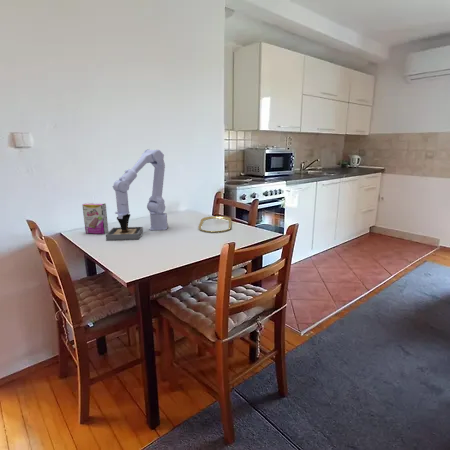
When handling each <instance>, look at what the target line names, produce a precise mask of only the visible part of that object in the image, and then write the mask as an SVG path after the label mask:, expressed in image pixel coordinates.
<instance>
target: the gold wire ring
mask: <svg viewBox="0 0 450 450" xmlns="http://www.w3.org/2000/svg"><path fill="white" fill-rule="evenodd" d="M211 219H213V220H215V219H218V220H219V219H222V220H227V221H228V228H227V229H223V230H205V229H202V228H201V226H202V227H203V225H204V222H205V221H208V220H211ZM204 220H205V221H204ZM203 221H204V222H203ZM202 224H203V225H202ZM197 228H198V230H199V231H200V232H203V231H204V233H211V234H215V233H216V234H217V233H218V232H219V233H224V231H225V232H228V231H229V230H231V229H232V218H230V217H228V216H222V215H221V216H219V215H215V216H206V217H203V218H201V220H200V222H199V224H198V227H197Z"/></svg>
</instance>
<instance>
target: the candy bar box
mask: <svg viewBox="0 0 450 450" xmlns="http://www.w3.org/2000/svg"><path fill="white" fill-rule="evenodd" d="M81 206H82V213H83V222H84V230H85V234H86V235H87V234H89V235H91V234H92V235H96V234H97V235H106V234H107V233H108V232H109V223H108V213H107V203H104V202H85V203H83V204H82V205H81Z"/></svg>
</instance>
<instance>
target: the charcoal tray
mask: <svg viewBox="0 0 450 450" xmlns="http://www.w3.org/2000/svg"><path fill="white" fill-rule="evenodd" d="M118 229H121V226H120V227H111V229H110V230H108V232H107V233H106V234H105V241H106V242H107V241H138V240H139V239H140V238H141V237H142V235H143V233H144V228H143V226H128V229H137V233H136V234H114V233H115V232H116V231H117V230H118Z"/></svg>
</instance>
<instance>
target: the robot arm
mask: <svg viewBox="0 0 450 450" xmlns="http://www.w3.org/2000/svg"><path fill="white" fill-rule="evenodd" d="M164 156H165V155H164V153H163V152H162V151H161V150H160V149H150V148H149V149H145V150H144V151H143V153H141V156H140V157H139V159H138V160H137V162H135V164H134V165H133V166H132V167H131V168H128V169H126V170H124V173H123V174H122V175H121V176H120V177H118V180H115V181H114V182H113V185H112V189H113V190H114V192H115V199H116V200H115V201H116V210H117V211H115V212H114V214H115V215H116V214H117V217H116V220H117V221H118V223H119V226H120V227H121V229H122V230H126V228H128V227H129V221H130V218H131V214H130V208H129V198H128V197H129V196H128V191H129V190H130V186H131V184H132V183H133V182H134V181H135V180H136V178H137V177H138V175H137V174H138V173H139V171H141V169H143V168H144V166H146V164H147V165H148V164H149V163H150V164H151V165H152V166H153V169H154V173H153V180H152V192H151V196H150V197H149V199H148V201H147V205H146V209H147V211H149V220H150V227H149V231H163V230H164V231H165V230H167V228H168V227H169V225H168V214H167V213H166V212H165V211H166V203H165V199H164V198H163V190H164V189H163V188H164V180H165V171H166V170H165V169H166V164H165V161H164V158H165V157H164Z"/></svg>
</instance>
